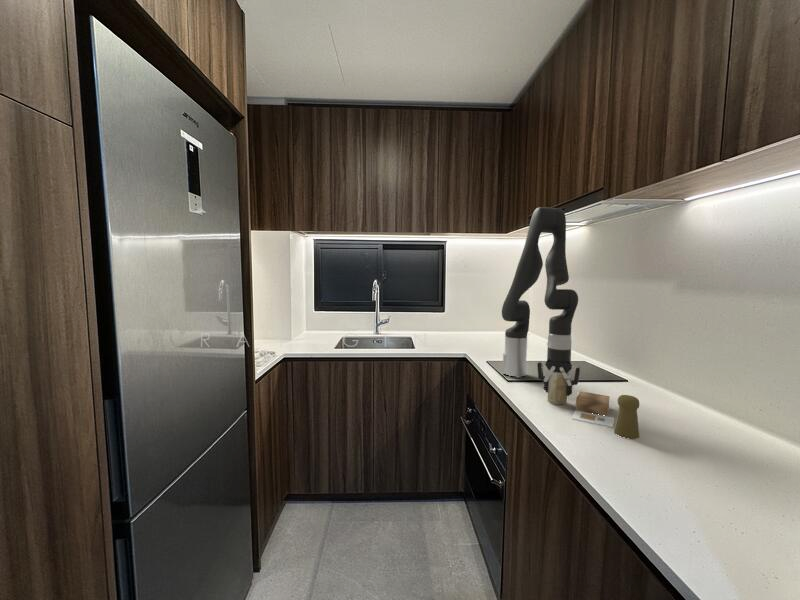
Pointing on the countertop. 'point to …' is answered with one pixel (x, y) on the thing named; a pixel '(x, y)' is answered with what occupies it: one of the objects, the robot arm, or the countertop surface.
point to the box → (557, 388)
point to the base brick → (592, 403)
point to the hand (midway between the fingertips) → (557, 393)
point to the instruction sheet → (593, 418)
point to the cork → (627, 417)
